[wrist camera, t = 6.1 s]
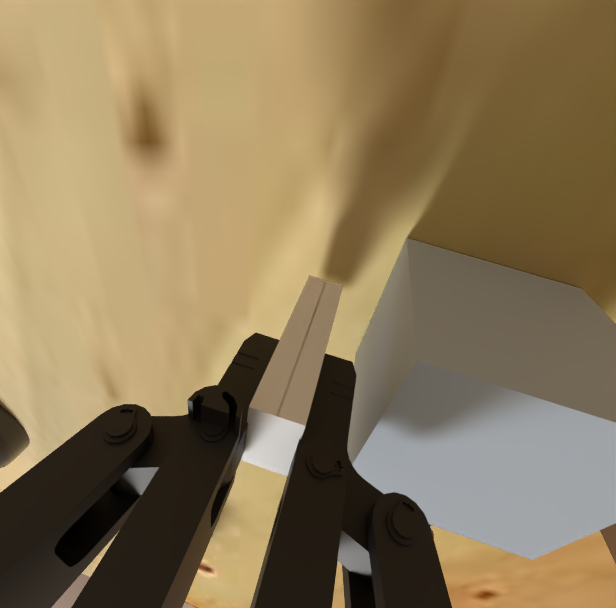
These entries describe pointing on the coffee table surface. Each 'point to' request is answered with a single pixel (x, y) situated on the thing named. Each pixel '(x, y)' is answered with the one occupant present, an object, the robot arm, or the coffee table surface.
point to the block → (488, 401)
